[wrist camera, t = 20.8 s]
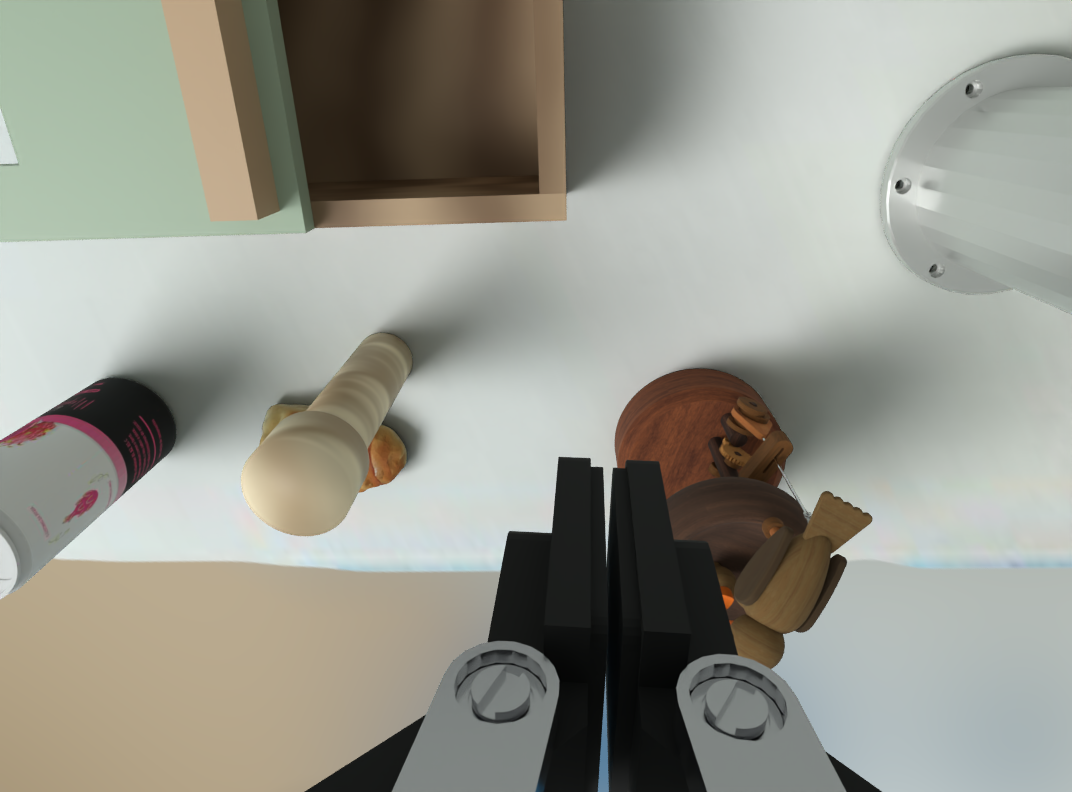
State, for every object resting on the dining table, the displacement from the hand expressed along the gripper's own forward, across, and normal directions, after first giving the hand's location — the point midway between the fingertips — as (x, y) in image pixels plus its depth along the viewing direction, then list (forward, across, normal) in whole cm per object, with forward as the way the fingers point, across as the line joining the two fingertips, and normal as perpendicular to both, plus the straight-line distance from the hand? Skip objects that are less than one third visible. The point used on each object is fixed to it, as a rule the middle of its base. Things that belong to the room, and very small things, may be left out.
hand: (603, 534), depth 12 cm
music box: (+32, -7, +15) cm, 36 cm away
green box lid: (+22, +23, -6) cm, 32 cm away
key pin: (+31, +13, +9) cm, 35 cm away
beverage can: (+30, +31, +14) cm, 46 cm away
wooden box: (+31, +12, -7) cm, 34 cm away
